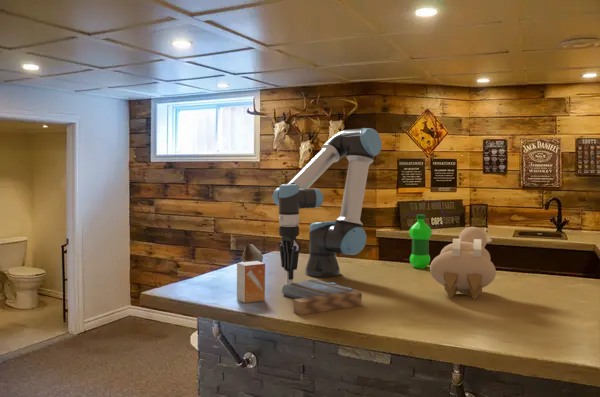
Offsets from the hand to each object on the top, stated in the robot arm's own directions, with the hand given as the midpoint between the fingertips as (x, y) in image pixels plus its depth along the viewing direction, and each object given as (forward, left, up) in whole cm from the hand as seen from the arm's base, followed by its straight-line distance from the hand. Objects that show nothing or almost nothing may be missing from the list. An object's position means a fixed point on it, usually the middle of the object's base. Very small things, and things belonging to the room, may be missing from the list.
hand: (289, 287), depth 185 cm
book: (-4, +14, -2) cm, 15 cm away
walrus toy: (-52, +37, -1) cm, 63 cm away
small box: (+18, +6, -1) cm, 20 cm away
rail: (0, +28, -1) cm, 28 cm away
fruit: (-6, -46, -1) cm, 46 cm away
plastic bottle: (-77, -11, -1) cm, 77 cm away
